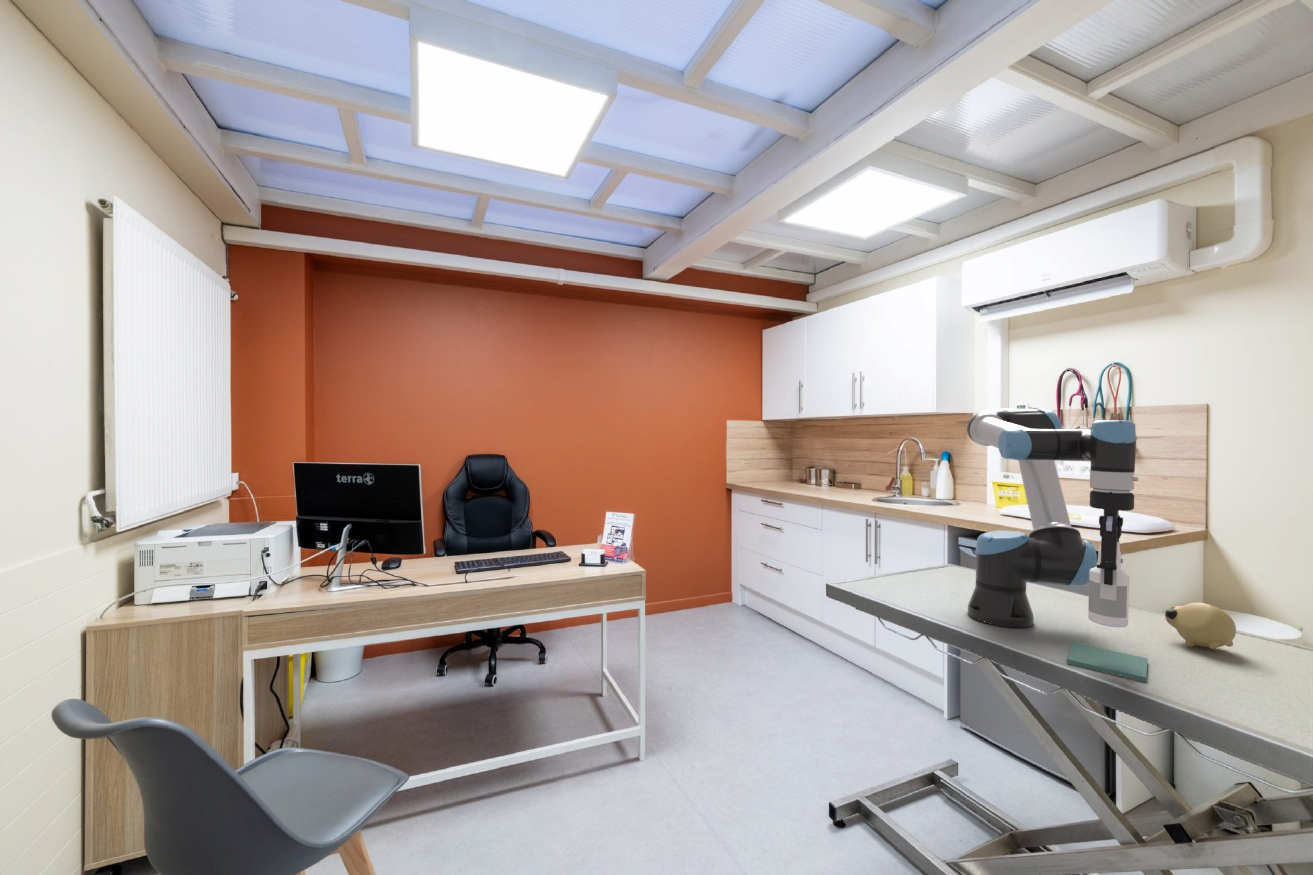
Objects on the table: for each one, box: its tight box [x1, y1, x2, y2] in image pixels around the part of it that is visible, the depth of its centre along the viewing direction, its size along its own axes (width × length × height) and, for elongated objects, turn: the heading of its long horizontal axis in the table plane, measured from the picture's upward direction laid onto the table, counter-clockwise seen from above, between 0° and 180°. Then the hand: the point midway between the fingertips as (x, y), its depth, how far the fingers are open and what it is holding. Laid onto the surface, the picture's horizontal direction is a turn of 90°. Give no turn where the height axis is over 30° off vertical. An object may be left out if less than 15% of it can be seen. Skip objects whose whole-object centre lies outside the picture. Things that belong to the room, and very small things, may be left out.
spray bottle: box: [1087, 539, 1130, 628], centre depth 121 cm, size 7×7×18 cm
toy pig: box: [1164, 602, 1237, 650], centre depth 131 cm, size 10×12×11 cm
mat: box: [1066, 642, 1148, 683], centre depth 121 cm, size 13×13×1 cm
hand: (1109, 595), depth 121 cm, fingers closed on spray bottle, 7 cm apart
